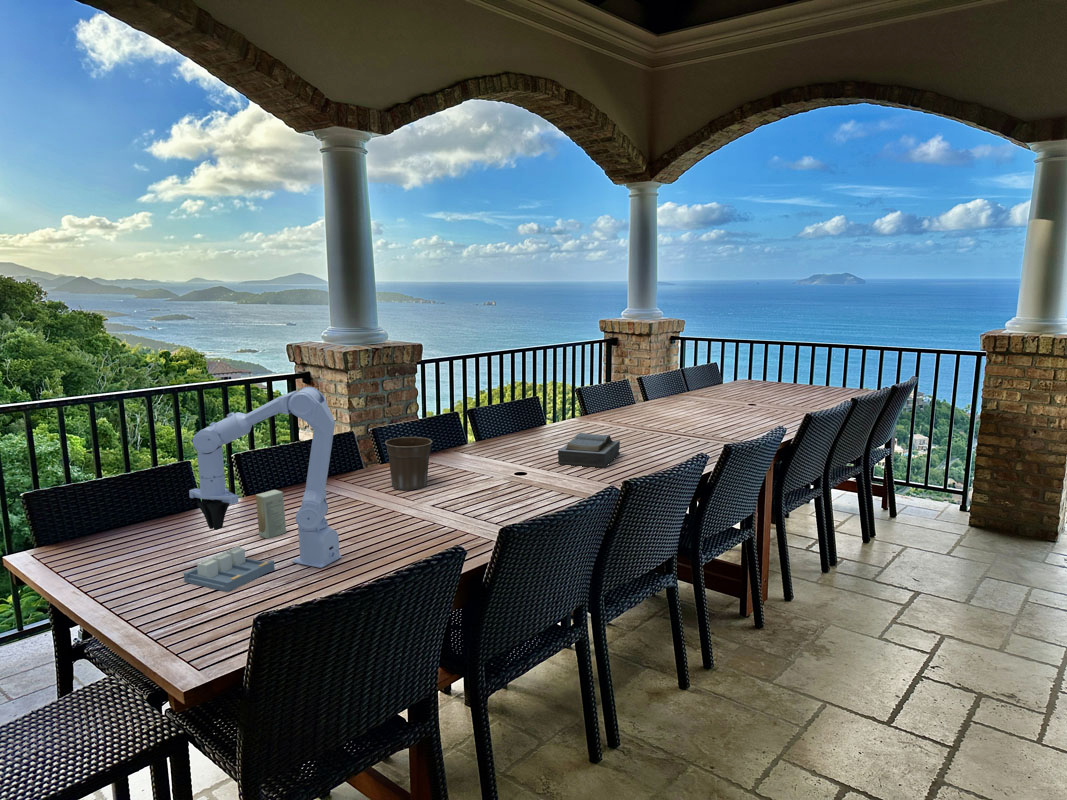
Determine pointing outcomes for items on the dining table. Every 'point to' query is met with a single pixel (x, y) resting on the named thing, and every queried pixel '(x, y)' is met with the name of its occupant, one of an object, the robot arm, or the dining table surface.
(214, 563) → the tab
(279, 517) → the skincare box
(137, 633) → the dining table surface
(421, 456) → the plant pot
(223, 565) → the tab
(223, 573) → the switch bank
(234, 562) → the tab
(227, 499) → the robot arm
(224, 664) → the dining table surface
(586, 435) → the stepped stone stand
